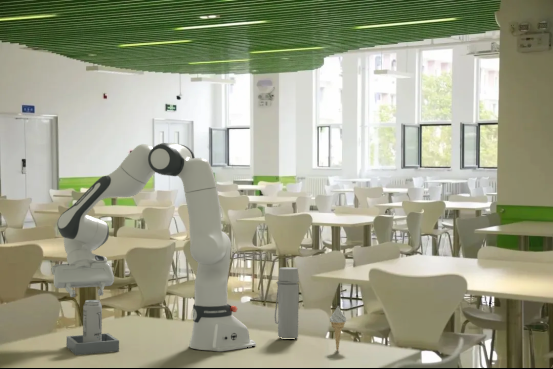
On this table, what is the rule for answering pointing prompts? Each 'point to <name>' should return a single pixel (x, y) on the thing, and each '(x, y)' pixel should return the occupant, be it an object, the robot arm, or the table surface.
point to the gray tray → (92, 345)
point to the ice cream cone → (337, 324)
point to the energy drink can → (92, 321)
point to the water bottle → (287, 302)
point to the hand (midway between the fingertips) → (87, 295)
